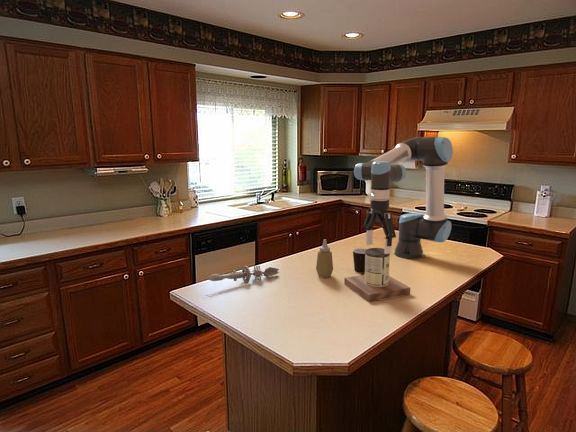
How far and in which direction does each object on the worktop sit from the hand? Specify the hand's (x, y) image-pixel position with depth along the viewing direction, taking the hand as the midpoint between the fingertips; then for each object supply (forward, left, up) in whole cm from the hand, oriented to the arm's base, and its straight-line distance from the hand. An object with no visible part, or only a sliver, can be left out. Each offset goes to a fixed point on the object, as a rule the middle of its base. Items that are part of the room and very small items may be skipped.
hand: (378, 248), depth 160 cm
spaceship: (+51, -28, -18) cm, 61 cm away
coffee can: (0, 0, -15) cm, 15 cm away
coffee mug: (-5, -22, -18) cm, 29 cm away
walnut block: (0, 0, -18) cm, 18 cm away
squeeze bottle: (+14, -22, -18) cm, 32 cm away
